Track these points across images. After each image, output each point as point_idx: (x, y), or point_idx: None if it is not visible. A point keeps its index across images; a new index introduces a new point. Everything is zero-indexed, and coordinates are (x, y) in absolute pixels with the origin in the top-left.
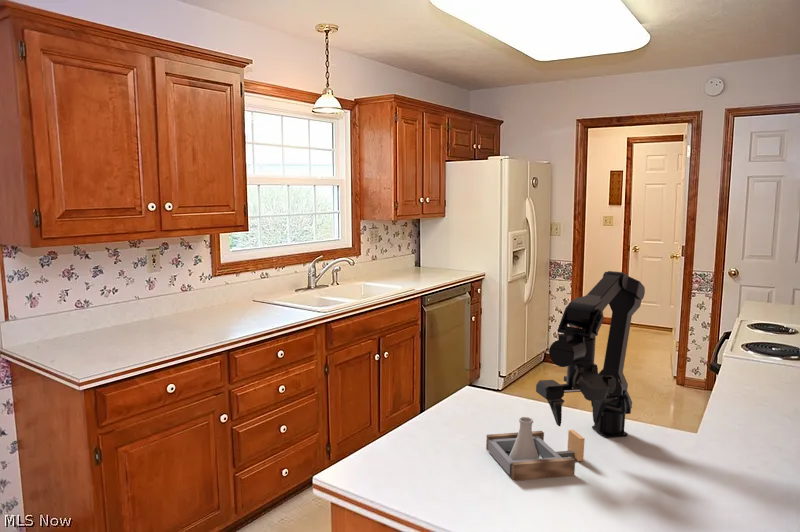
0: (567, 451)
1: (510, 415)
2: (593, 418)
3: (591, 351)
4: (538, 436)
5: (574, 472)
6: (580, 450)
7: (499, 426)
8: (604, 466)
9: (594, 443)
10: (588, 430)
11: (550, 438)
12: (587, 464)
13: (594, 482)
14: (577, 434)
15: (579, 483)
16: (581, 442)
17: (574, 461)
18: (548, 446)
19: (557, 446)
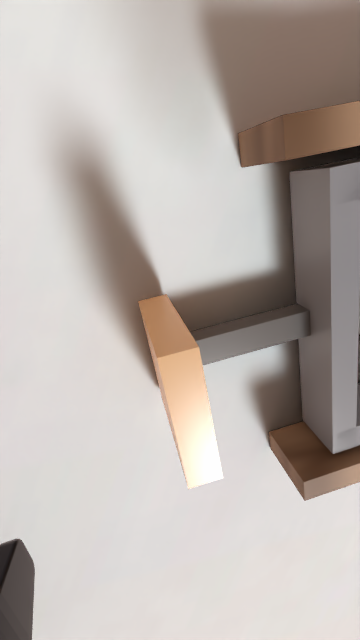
0: (212, 354)
1: (285, 636)
2: (29, 607)
3: None
4: (321, 459)
5: (245, 130)
6: (169, 315)
7: (355, 555)
8: (25, 256)
9: (17, 505)
10: None
11: (209, 509)
12: (120, 275)
13: (150, 27)
14: (188, 419)
15: (245, 20)
16: (175, 339)
17: (281, 116)
18: (336, 342)
19: None
